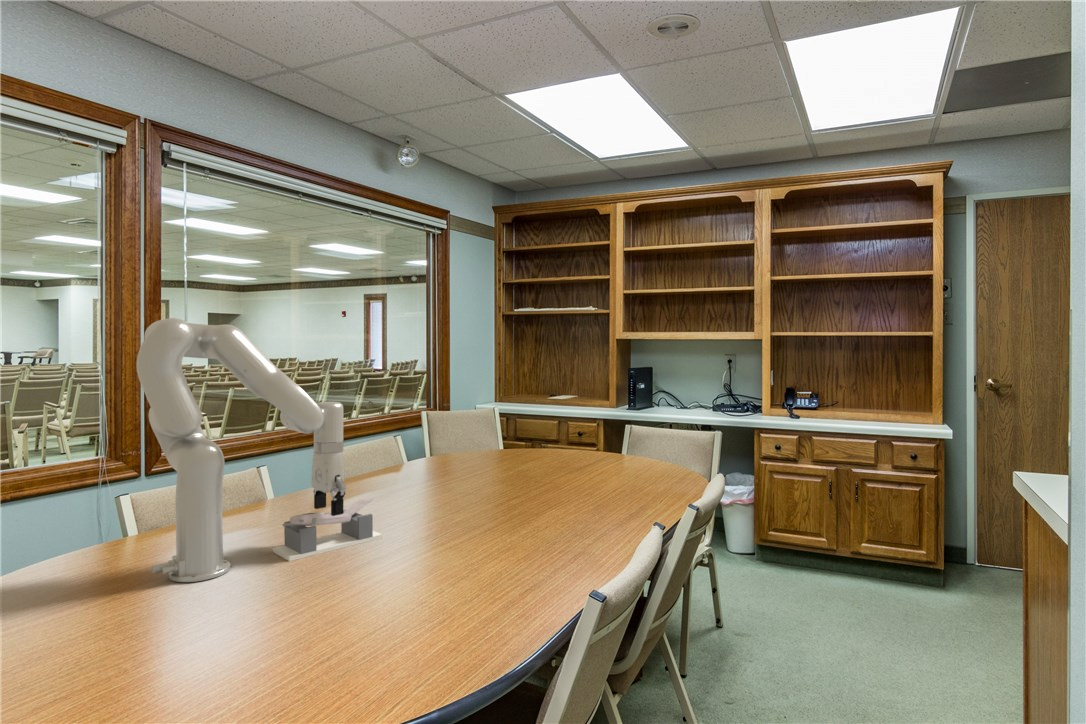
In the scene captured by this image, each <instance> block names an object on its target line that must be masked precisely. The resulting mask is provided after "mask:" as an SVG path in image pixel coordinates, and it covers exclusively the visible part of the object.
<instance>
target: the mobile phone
mask: <svg viewBox="0 0 1086 724" xmlns="http://www.w3.org/2000/svg"><path fill="white" fill-rule="evenodd" d="M372 501H374V499H373V498H370V499H369V498H367V499H366V498H365V499H359V500H357V501H355V502H354V503H353V504H352V505H350V506H349V507H347V508H346V509H344V510H345V511H344V512H343V514H341V515H336V516H332V515H331V513H324V512H307V513H301V514H297V515H293V516H291V517H289V521H290V523H282V527H284V526H306V527H311V526H322V525H324V526H325V525H333V524H341V523H346V522H350V521H351V516H352V515H353V514H355V513H358V512H359V511H360V510H361V509H363V508H364V507H366V506H367V505H368V504H369V503H371V502H372Z"/></svg>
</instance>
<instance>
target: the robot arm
mask: <svg viewBox="0 0 1086 724" xmlns="http://www.w3.org/2000/svg"><path fill="white" fill-rule="evenodd" d="M143 338H144V340H143V342H142V343H141V346H140V348H139V351H138V353H137V358H136V373H137V377H138V380H139V383H140V385H141V387H142V390H143V392H144V394H145V397H146V400H147V402H148V404H149V407H150V408H149V410H148V421H149V424H150V427H151V429H152V432H153V433H154V435H155V438H156V439H157V442H158V444H159V445H160V449H161V450H162V452H163V455H164V456H165V459H166V460H167V463H168V464H169V466H170V467H172V469H173V470H174V471H176V484H175V485H176V486H175V542H176V543H175V546H176V547H175V549H176V550H175V551H176V553H175V555H172V557H171V558H172V559H170V560H168V561H167V562H163V563H157V564H154V565H152V566H151V571H152V574H153V575H155V574H159V573H160V574H161V575H164V574H168V579H169V580H170V581H172V582H176V583H196V582H203V581H207V580H212V579H215V578H217V577H220V576H222V575H224V574H226V573H228V571H230V569H231V562H230V561H228V560H225V559H224V545H223V544H224V541H223V538H224V537H223V536H224V535H223V534H224V533H223V532H224V530H223V526H224V525H223V523H224V522H223V483H224V482H223V480H224V474H225V473H224V472H225V457H224V453H223V450H222V449H221V448H220V446H219V445H218V444H217V443H216V442H215V441H212V440H211V439H208V438H206V435H205V433H204V431H203V428H202V426H201V425H202V421H203V413H202V411H201V409H200V407H199V404H198V403H197V401H196V399H195V397H194V394H193V392H192V390H191V388H190V386H189V384H188V381H187V379H186V376H185V374H184V371H183V359H184V358H194V359H195V358H196V359H208V360H209V359H212V360H214V359H215V360H217V361H219V363H220V364H222V366H224V367H225V368H226V369H227V370H228V371H229V372H230V373H231V374H232V375H233V376H234V377H235V378H236V379H237V380H238V381H239V382H240V383H241V385H242V386H244V388H246V389H247V390H249V391H250V392H251V393H252V394H253V395H255V396H257V397H260V399H263V400H265V401H267V402H268V403H269V404H271V405H272V406H274V407H275V408H277V410H279V411H280V414H279V419H280V422H281V424H282V425H283V427H285V428H286V429H288V430H291V431H294V432H298V433H302V434H307V435H308V434H313V457H312V465H311V466H312V467H311V488H313V495H314V496H313V506H314V509H315V510H317V509H324V508H327V494H329V493H330V496H331V499H332V500H331V501H330V503H331V504H330V514H331V515H332V516H336V515H341V514H343V510H344V500H345V495H346V489H347V484H346V482H345V469H344V459H343V458H344V457H343V454H344V405H343V404H342V403H341V402H340V401H319V402H316V401H314V399H313V398H312V397H311V396H310V395H309V394H308V393H307V392H306V391H305V390H304V389H303V388H302V387H301V386H300V385H299V384H297V383H296V382H295V381H294V380H292V379H291V378H290V377H289V376H288V375H287V374H286V373H285V372H283V371H282V370H281V369H279V368H278V367H277V366H276V365H275V364H274V363H273V361H271V360H270V359H269V358H268V357H267V356H266V355H265V354H264V353H263V351H262V350H261V349H259V347H257V345H256V344H255V343H254V342H253V341H252V340H251V339H250V338H249V337H248V336H247V335H246V334H245V333H244V332H243V331H242V330H241V329H240V328H239V327H237V326H235V325H232V324H226V323H225V324H218V325H217V324H201V323H200V324H199V323H191V322H186V321H185V320H182V319H180V318H175V317H172V318H171V317H170V318H163V319H159V320H156V321H154V322H153V323H151V324H150V325H148V327H147V328H146V330H145V332H144V335H143Z"/></svg>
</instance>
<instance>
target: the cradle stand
mask: <svg viewBox="0 0 1086 724" xmlns="http://www.w3.org/2000/svg"><path fill="white" fill-rule="evenodd" d="M345 510H346V509H343V512H344V511H345ZM284 523H290V520H286V521H284ZM284 523H283V524H284ZM340 525H341V526H340V527H341V529H340V530H341V532H338V533H337V532H336V533H333V534H329V535H328V534H327V535H324V536H319V537H317V525H315V526H283V527H284V528H283V529H284V530H283V531H284V545H280V546H277V547H273V548H272V553H275V555H278V556H280V557H281V558H283V559H285V560H287V561H288V562H293V561H296V560H299V559H304V558H307V557H311V556H312V557H313V556H315V555H320V554H323V553H324V554H325V553H327V552H331V551H336V550H339V549H344V548H348V547H351V546H356V545H361V544H363V543H368V542H372V541H375V540H376V541H377V540H381V539H383V534H382V533H379V532H377V531H375V530H373V528H374V527H373V514H372V513H367V514H361V513H358V512H356V513H355V514H353V515H352V516H351V521H350V522H346V523H340Z"/></svg>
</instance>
